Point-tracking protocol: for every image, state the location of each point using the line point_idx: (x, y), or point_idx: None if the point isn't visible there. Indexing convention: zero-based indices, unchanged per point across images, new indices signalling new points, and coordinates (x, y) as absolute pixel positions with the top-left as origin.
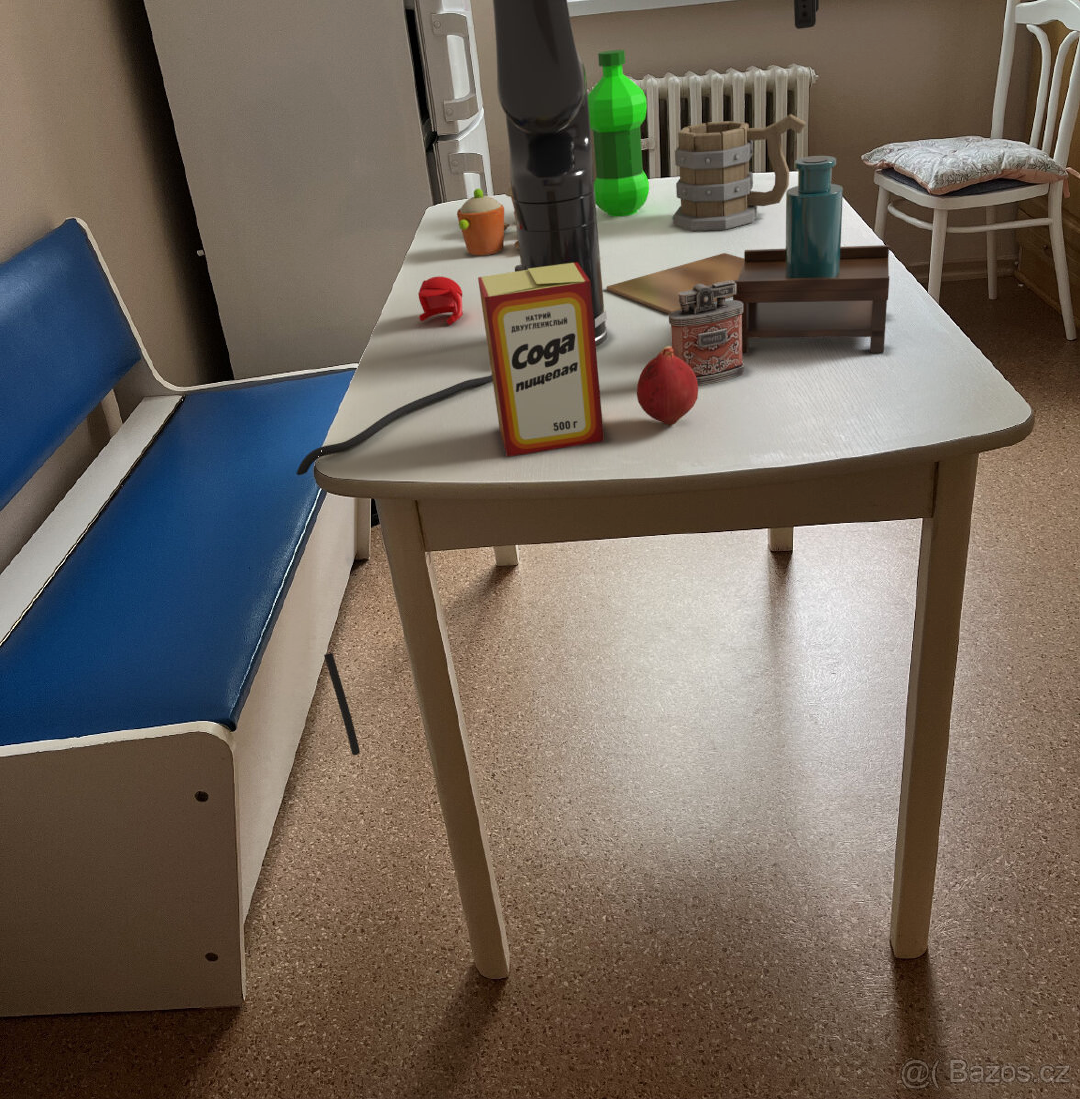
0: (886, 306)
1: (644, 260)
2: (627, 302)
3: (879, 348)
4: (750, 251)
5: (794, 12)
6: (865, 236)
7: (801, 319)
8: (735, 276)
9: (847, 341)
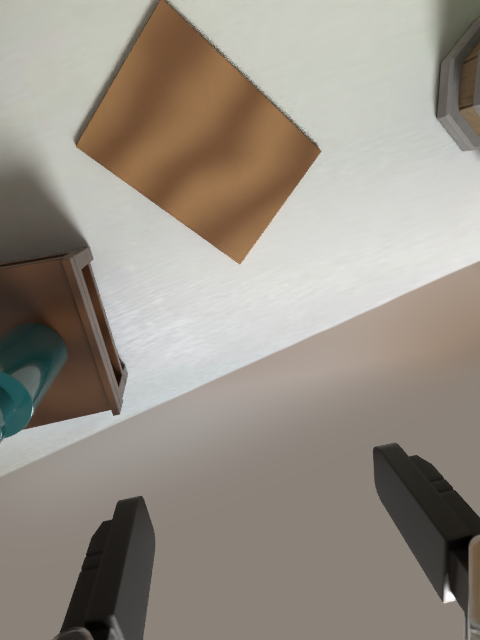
0: None
1: (306, 22)
2: (113, 59)
3: None
4: (64, 268)
5: (107, 540)
6: (384, 301)
7: None
8: (224, 194)
9: None
